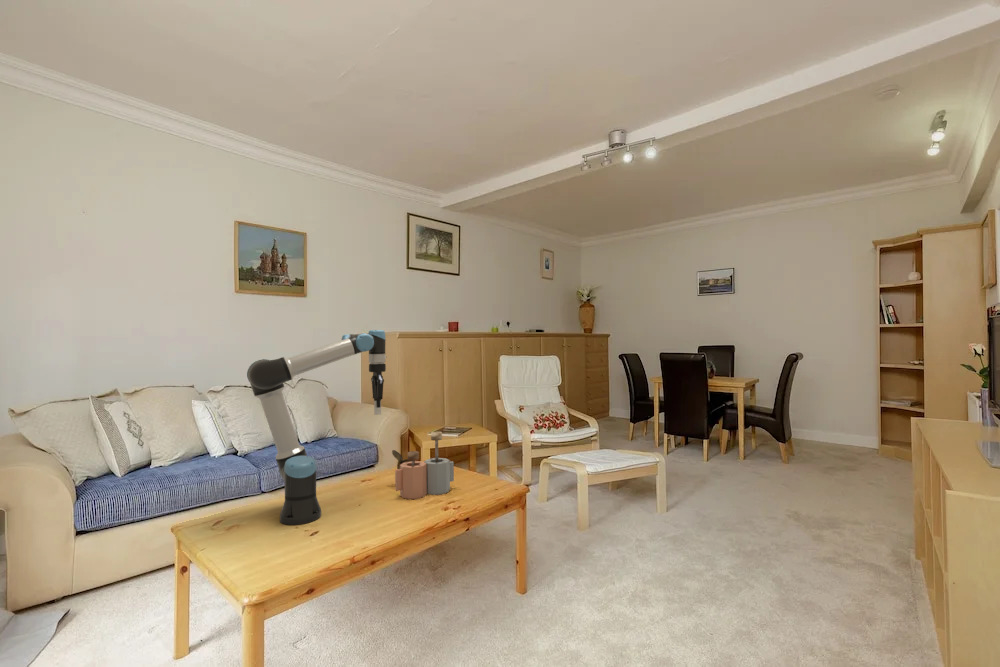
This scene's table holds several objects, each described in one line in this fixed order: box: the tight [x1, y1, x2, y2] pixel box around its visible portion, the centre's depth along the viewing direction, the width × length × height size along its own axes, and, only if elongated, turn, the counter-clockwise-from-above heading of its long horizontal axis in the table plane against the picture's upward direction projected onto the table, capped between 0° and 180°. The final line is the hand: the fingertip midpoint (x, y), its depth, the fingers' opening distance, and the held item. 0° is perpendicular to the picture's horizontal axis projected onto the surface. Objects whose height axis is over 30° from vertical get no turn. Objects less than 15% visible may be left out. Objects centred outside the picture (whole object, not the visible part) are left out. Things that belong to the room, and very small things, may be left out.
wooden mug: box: [391, 449, 411, 470], centre depth 234 cm, size 9×14×18 cm, turn 142°
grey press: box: [423, 457, 455, 496], centre depth 223 cm, size 14×11×14 cm
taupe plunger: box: [407, 450, 420, 466], centre depth 216 cm, size 5×5×16 cm
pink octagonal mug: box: [394, 460, 428, 500], centre depth 216 cm, size 14×11×14 cm
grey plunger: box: [430, 431, 443, 463], centre depth 222 cm, size 5×5×16 cm
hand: (377, 414), depth 220 cm, fingers closed
